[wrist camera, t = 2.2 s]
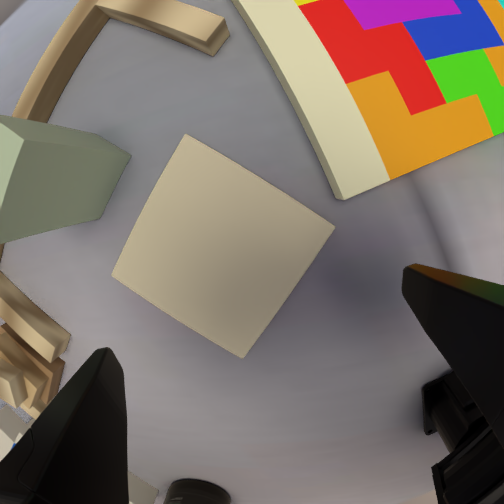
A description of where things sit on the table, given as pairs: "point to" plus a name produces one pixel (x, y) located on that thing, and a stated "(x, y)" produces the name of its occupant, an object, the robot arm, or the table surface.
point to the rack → (46, 96)
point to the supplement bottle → (195, 493)
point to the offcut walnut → (39, 364)
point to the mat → (219, 247)
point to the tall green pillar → (53, 176)
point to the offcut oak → (24, 369)
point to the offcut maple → (12, 384)
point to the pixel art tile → (13, 427)
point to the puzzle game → (385, 79)
